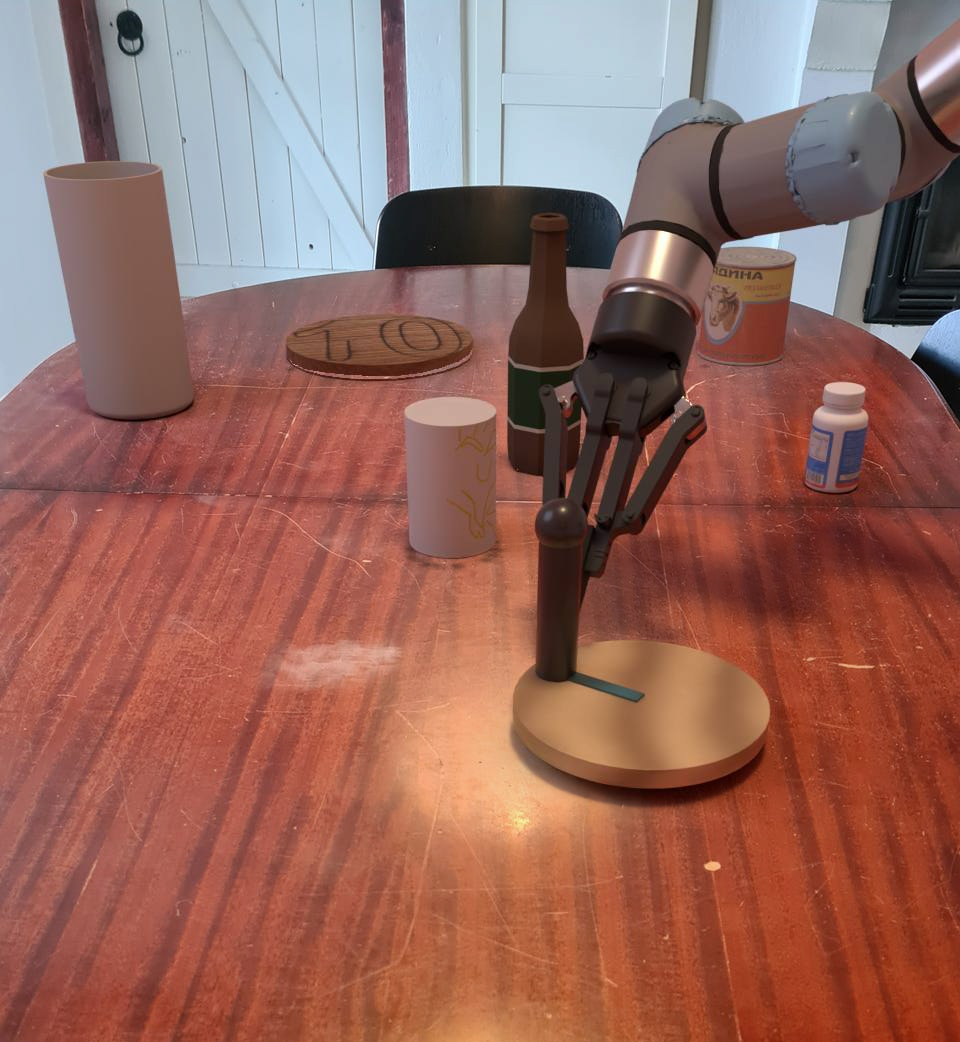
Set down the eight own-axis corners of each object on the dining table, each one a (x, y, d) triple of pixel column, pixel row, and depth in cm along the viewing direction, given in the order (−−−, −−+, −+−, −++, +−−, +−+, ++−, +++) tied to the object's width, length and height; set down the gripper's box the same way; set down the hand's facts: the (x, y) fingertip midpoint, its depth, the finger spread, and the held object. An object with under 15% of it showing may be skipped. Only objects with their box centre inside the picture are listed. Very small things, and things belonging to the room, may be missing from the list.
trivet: (298, 387, 154) (297, 371, 153) (277, 334, 173) (275, 320, 172) (492, 372, 158) (492, 357, 157) (450, 323, 178) (450, 309, 177)
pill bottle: (856, 477, 129) (874, 381, 123) (857, 496, 124) (875, 397, 118) (803, 473, 130) (818, 377, 124) (802, 492, 125) (817, 394, 119)
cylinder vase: (171, 383, 155) (137, 157, 140) (211, 409, 147) (179, 172, 132) (74, 400, 150) (28, 168, 135) (110, 429, 142) (65, 184, 126)
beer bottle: (582, 453, 135) (594, 208, 120) (574, 478, 129) (585, 224, 114) (512, 449, 136) (515, 206, 121) (501, 474, 130) (502, 221, 115)
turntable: (753, 661, 94) (781, 475, 86) (782, 794, 80) (818, 587, 71) (519, 653, 95) (522, 469, 87) (505, 783, 81) (507, 578, 72)
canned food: (680, 353, 165) (689, 255, 158) (733, 337, 171) (744, 242, 164) (747, 371, 159) (759, 270, 151) (800, 354, 165) (814, 256, 157)
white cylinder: (468, 564, 112) (467, 431, 104) (392, 547, 115) (386, 417, 108) (511, 533, 117) (512, 405, 110) (437, 517, 120) (434, 391, 113)
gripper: (738, 353, 93) (656, 647, 92) (576, 333, 97) (495, 615, 96) (731, 295, 86) (642, 614, 85) (556, 276, 90) (468, 581, 88)
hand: (564, 614), depth 90 cm, fingers closed
